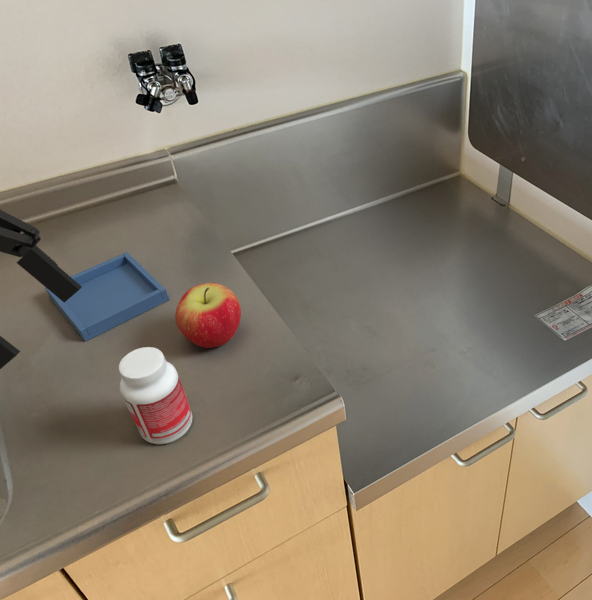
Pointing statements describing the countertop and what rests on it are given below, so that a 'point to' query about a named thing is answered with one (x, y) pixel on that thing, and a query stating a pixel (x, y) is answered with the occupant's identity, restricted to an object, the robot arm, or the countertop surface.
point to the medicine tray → (110, 296)
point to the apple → (208, 315)
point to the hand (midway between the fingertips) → (44, 325)
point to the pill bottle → (154, 396)
